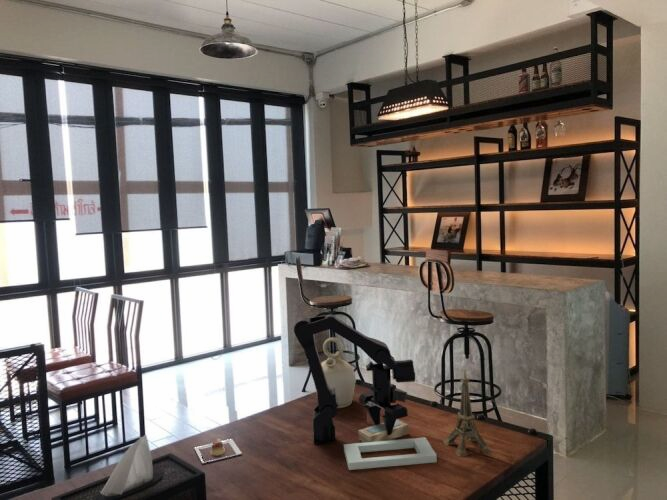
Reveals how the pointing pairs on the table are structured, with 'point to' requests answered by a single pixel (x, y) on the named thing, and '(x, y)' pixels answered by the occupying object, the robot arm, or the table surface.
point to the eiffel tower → (466, 424)
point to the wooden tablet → (382, 412)
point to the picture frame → (383, 432)
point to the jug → (339, 374)
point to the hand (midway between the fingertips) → (383, 431)
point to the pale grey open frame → (420, 444)
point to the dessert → (218, 449)
